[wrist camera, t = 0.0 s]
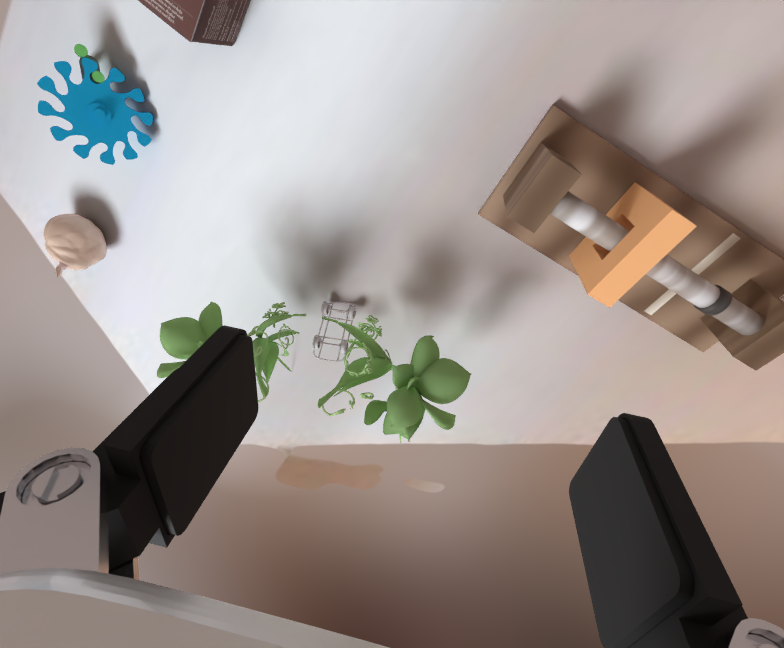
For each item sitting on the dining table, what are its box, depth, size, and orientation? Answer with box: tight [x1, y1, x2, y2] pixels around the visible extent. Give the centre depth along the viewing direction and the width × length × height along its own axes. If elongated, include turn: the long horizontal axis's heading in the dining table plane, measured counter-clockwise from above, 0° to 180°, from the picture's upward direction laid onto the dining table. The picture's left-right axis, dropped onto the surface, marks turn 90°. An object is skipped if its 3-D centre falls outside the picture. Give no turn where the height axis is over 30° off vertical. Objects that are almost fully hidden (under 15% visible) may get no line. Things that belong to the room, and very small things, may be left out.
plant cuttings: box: [157, 301, 471, 443], centre depth 51 cm, size 35×17×22 cm
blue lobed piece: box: [37, 44, 153, 165], centre depth 43 cm, size 11×6×10 cm
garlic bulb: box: [44, 214, 107, 277], centre depth 52 cm, size 7×6×8 cm
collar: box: [569, 183, 697, 308], centre depth 37 cm, size 2×9×9 cm, turn 152°
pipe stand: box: [478, 105, 784, 370], centre depth 39 cm, size 32×12×8 cm, turn 62°
